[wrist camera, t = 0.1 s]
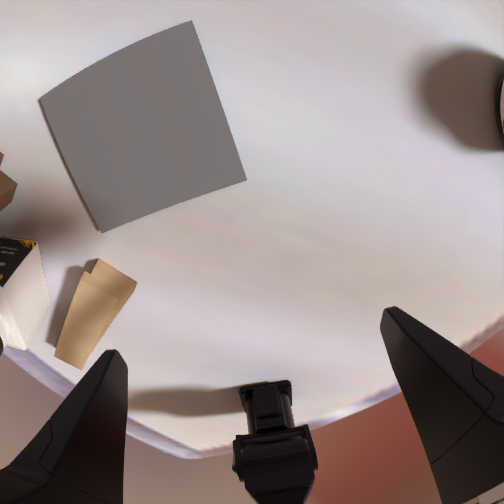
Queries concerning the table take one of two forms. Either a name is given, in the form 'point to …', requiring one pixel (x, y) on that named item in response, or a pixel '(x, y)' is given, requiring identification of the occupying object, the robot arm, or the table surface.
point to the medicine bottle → (21, 292)
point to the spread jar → (500, 106)
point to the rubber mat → (144, 128)
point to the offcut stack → (92, 312)
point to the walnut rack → (6, 188)
